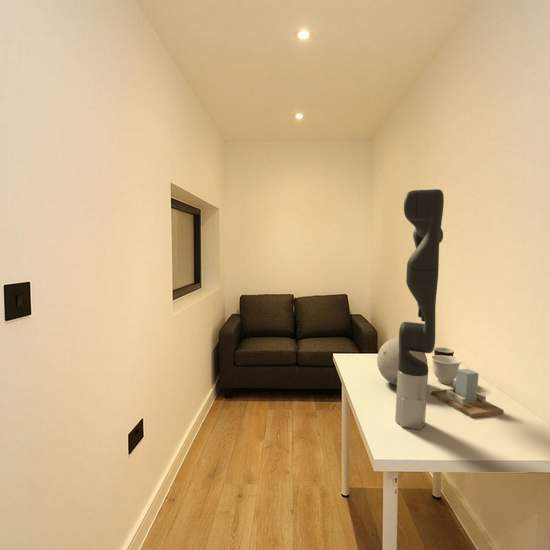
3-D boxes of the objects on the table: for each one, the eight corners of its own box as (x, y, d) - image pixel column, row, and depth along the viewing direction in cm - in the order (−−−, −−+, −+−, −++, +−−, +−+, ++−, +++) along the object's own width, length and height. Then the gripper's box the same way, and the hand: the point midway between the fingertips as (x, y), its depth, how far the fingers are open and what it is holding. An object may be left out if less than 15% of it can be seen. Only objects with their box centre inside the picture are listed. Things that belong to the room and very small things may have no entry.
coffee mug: (451, 374, 165) (452, 353, 164) (431, 370, 169) (432, 350, 168) (454, 368, 174) (455, 348, 174) (435, 364, 179) (436, 345, 178)
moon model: (418, 399, 136) (421, 347, 135) (368, 385, 148) (370, 338, 147) (431, 384, 152) (434, 338, 151) (385, 373, 164) (387, 330, 163)
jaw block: (476, 402, 131) (478, 373, 130) (465, 403, 130) (467, 374, 129) (465, 396, 136) (467, 368, 135) (454, 397, 135) (456, 369, 134)
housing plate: (503, 414, 125) (504, 396, 125) (471, 417, 122) (472, 399, 121) (459, 391, 145) (461, 376, 144) (430, 394, 141) (432, 378, 140)
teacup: (465, 379, 158) (466, 358, 158) (455, 389, 147) (456, 365, 147) (436, 373, 166) (438, 352, 166) (425, 381, 155) (427, 358, 155)
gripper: (412, 276, 145) (410, 315, 147) (417, 279, 132) (414, 322, 133) (432, 277, 143) (429, 316, 145) (439, 280, 130) (436, 323, 131)
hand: (422, 319), depth 139 cm, fingers open, 8 cm apart
